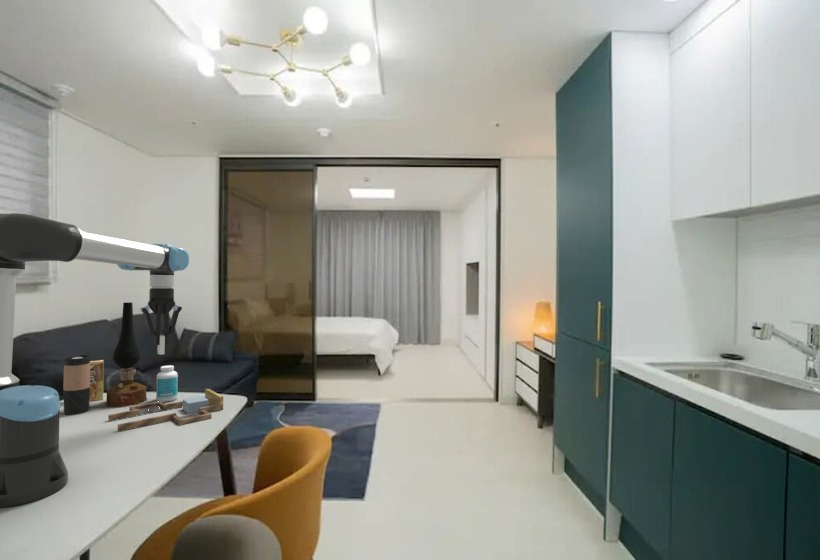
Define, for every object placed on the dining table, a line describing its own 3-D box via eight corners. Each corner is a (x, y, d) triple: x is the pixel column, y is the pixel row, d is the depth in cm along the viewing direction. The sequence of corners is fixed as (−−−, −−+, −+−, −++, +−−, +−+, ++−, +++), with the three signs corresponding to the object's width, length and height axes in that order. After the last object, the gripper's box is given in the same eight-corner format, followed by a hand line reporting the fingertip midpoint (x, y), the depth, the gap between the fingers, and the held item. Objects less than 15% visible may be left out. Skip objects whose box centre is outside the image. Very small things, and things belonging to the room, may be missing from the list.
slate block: (188, 414, 154) (188, 403, 154) (182, 409, 159) (182, 399, 159) (208, 410, 158) (208, 399, 158) (202, 406, 164) (202, 395, 164)
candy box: (103, 397, 172) (103, 359, 172) (103, 399, 169) (103, 361, 169) (75, 400, 167) (75, 362, 167) (75, 403, 164) (75, 364, 163)
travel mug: (78, 415, 150) (79, 359, 150) (57, 414, 150) (57, 358, 150) (94, 408, 158) (95, 355, 157) (74, 408, 158) (75, 354, 158)
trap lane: (124, 437, 130) (124, 421, 130) (103, 415, 150) (103, 401, 150) (231, 413, 154) (231, 400, 154) (201, 397, 174) (201, 385, 174)
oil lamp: (115, 406, 172) (102, 309, 174) (156, 397, 175) (143, 302, 178) (99, 412, 158) (84, 307, 161) (144, 403, 162) (129, 300, 165)
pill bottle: (181, 399, 171) (181, 366, 171) (162, 403, 165) (162, 369, 165) (171, 396, 175) (171, 363, 175) (152, 400, 169) (152, 366, 169)
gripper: (178, 287, 157) (177, 350, 157) (137, 287, 148) (136, 354, 148) (185, 287, 152) (184, 353, 152) (143, 288, 143) (143, 357, 143)
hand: (161, 353), depth 150 cm, fingers closed
